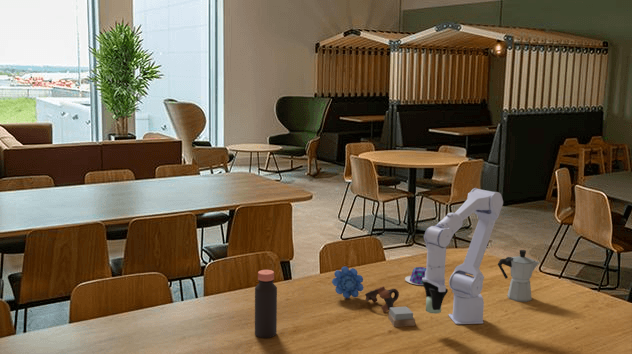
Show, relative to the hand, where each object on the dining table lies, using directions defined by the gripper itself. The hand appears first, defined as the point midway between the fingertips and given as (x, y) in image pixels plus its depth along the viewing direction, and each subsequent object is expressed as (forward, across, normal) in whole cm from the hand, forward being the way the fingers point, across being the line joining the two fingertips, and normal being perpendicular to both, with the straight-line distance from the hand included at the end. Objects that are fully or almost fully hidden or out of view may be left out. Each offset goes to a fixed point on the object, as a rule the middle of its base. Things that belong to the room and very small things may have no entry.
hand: (433, 306), depth 206 cm
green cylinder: (+1, 0, 0) cm, 1 cm away
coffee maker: (+9, -27, +41) cm, 50 cm away
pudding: (+9, -48, +11) cm, 50 cm away
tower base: (+9, -9, -8) cm, 15 cm away
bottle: (+9, -3, -53) cm, 53 cm away
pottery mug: (+9, -23, -11) cm, 27 cm away
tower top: (+6, -9, -8) cm, 13 cm away
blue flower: (+9, -31, -21) cm, 38 cm away
